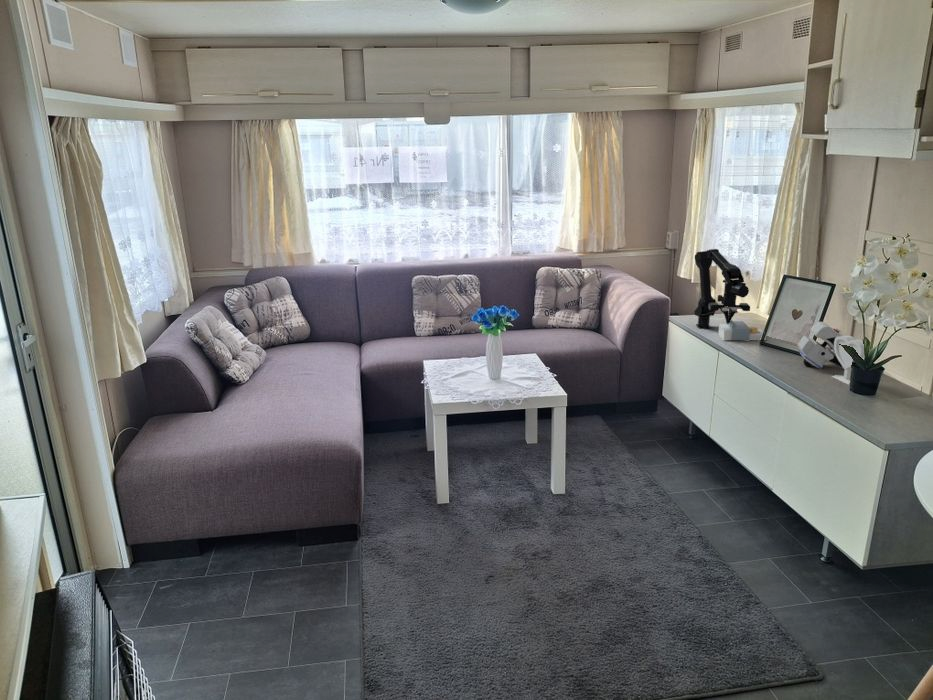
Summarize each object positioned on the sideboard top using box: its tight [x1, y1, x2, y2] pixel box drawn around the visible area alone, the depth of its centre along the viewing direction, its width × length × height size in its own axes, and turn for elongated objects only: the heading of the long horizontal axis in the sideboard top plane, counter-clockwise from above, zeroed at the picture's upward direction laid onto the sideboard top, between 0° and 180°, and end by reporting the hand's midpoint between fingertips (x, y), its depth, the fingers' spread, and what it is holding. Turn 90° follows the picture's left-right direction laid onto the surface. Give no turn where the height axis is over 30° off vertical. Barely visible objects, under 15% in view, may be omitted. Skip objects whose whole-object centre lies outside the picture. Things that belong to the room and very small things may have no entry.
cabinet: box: [725, 319, 750, 340], centre depth 352 cm, size 14×8×8 cm, turn 173°
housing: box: [717, 323, 764, 341], centre depth 352 cm, size 12×20×5 cm, turn 83°
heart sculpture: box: [831, 335, 865, 386], centre depth 289 cm, size 16×5×18 cm, turn 12°
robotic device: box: [797, 321, 845, 370], centre depth 307 cm, size 10×21×20 cm
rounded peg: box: [748, 326, 759, 333], centre depth 352 cm, size 4×4×5 cm
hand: (727, 323), depth 352 cm, fingers closed
